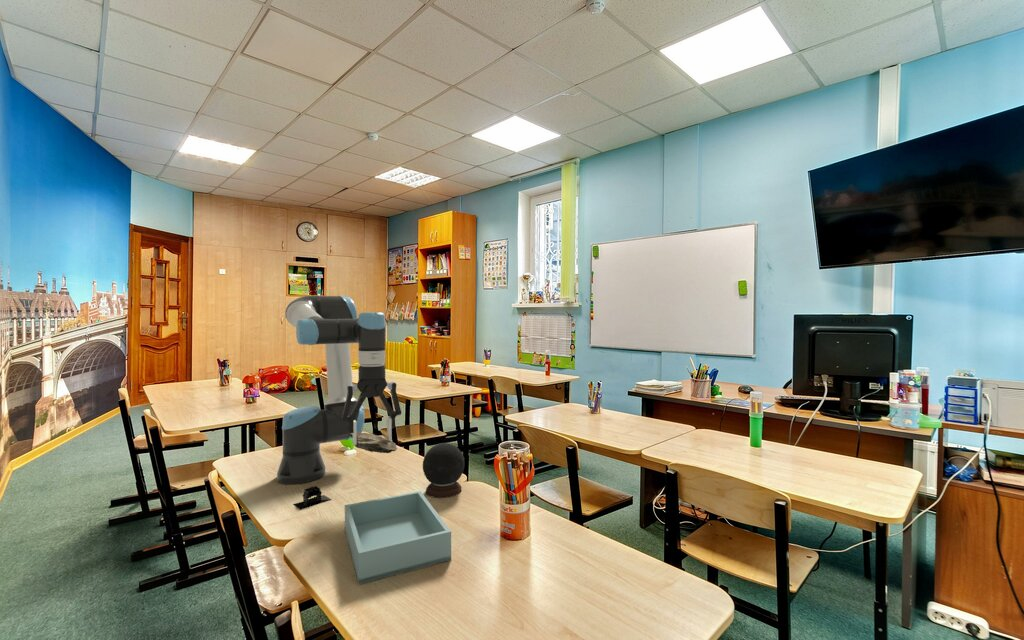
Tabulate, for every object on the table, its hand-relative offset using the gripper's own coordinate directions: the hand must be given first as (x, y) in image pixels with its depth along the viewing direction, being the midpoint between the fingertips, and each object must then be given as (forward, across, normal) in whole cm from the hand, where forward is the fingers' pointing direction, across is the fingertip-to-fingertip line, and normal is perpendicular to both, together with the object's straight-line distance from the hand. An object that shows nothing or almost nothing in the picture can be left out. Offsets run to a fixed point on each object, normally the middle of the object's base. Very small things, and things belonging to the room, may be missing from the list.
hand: (372, 441), depth 128 cm
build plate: (+20, -16, +11) cm, 27 cm away
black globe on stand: (+19, +22, +1) cm, 29 cm away
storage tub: (+19, +1, -25) cm, 32 cm away
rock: (+2, +1, +1) cm, 3 cm away
